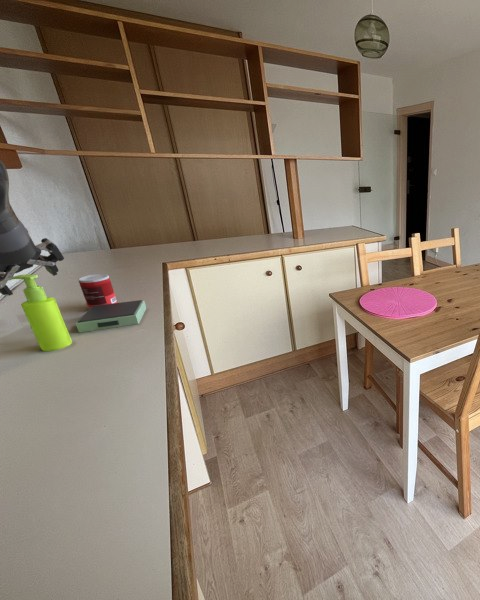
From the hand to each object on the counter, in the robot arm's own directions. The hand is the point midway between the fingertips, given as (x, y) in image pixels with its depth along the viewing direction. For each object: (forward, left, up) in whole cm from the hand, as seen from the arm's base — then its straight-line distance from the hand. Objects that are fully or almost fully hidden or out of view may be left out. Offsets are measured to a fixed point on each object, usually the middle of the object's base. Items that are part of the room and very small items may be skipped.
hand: (31, 282), depth 74 cm
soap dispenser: (-3, +7, -20) cm, 21 cm away
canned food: (+1, +35, -20) cm, 40 cm away
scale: (+7, +21, -20) cm, 29 cm away
